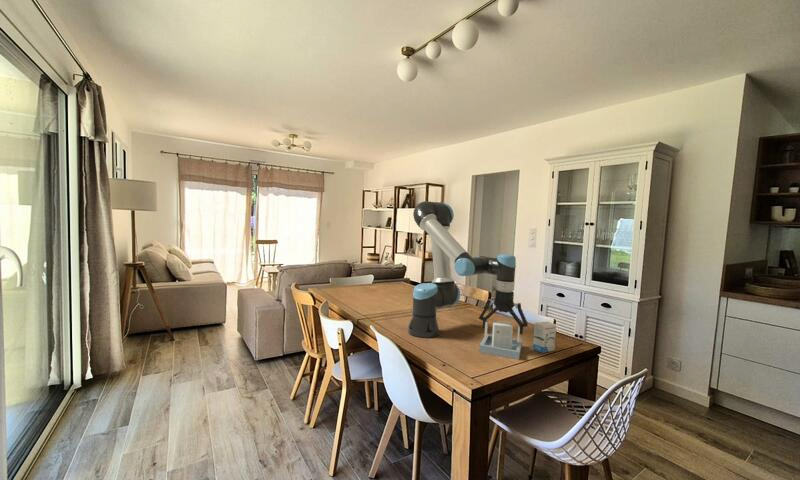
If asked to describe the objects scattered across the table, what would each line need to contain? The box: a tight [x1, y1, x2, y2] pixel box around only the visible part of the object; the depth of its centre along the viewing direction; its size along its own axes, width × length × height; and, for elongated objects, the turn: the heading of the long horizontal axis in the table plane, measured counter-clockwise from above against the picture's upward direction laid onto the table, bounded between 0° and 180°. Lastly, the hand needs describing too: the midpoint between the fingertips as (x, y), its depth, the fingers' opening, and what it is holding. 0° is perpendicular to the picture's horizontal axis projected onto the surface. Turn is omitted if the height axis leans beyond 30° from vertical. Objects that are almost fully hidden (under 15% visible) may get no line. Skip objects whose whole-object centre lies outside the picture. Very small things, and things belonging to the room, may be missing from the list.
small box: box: [491, 320, 514, 350], centre depth 147 cm, size 8×6×10 cm
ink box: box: [532, 321, 557, 354], centre depth 148 cm, size 9×5×12 cm, turn 117°
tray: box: [478, 333, 523, 361], centre depth 147 cm, size 16×16×3 cm
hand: (501, 338), depth 147 cm, fingers open, 13 cm apart
